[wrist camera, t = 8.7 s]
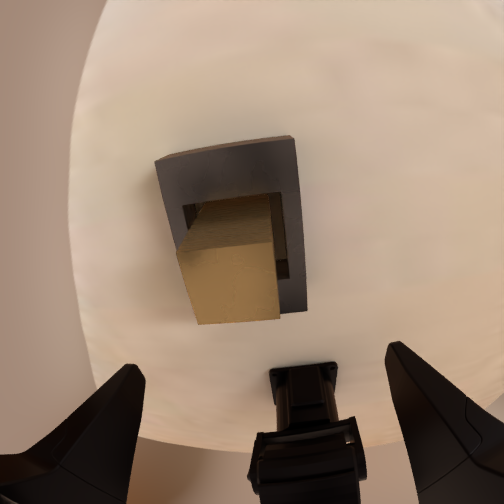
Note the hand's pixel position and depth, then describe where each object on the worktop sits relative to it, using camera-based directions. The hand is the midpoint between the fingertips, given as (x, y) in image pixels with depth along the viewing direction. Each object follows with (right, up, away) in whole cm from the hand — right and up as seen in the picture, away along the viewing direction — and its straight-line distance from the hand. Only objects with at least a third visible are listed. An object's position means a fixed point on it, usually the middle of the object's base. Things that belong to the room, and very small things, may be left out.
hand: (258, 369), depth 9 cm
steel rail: (-1, +6, +10) cm, 11 cm away
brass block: (-1, +6, +10) cm, 11 cm away
